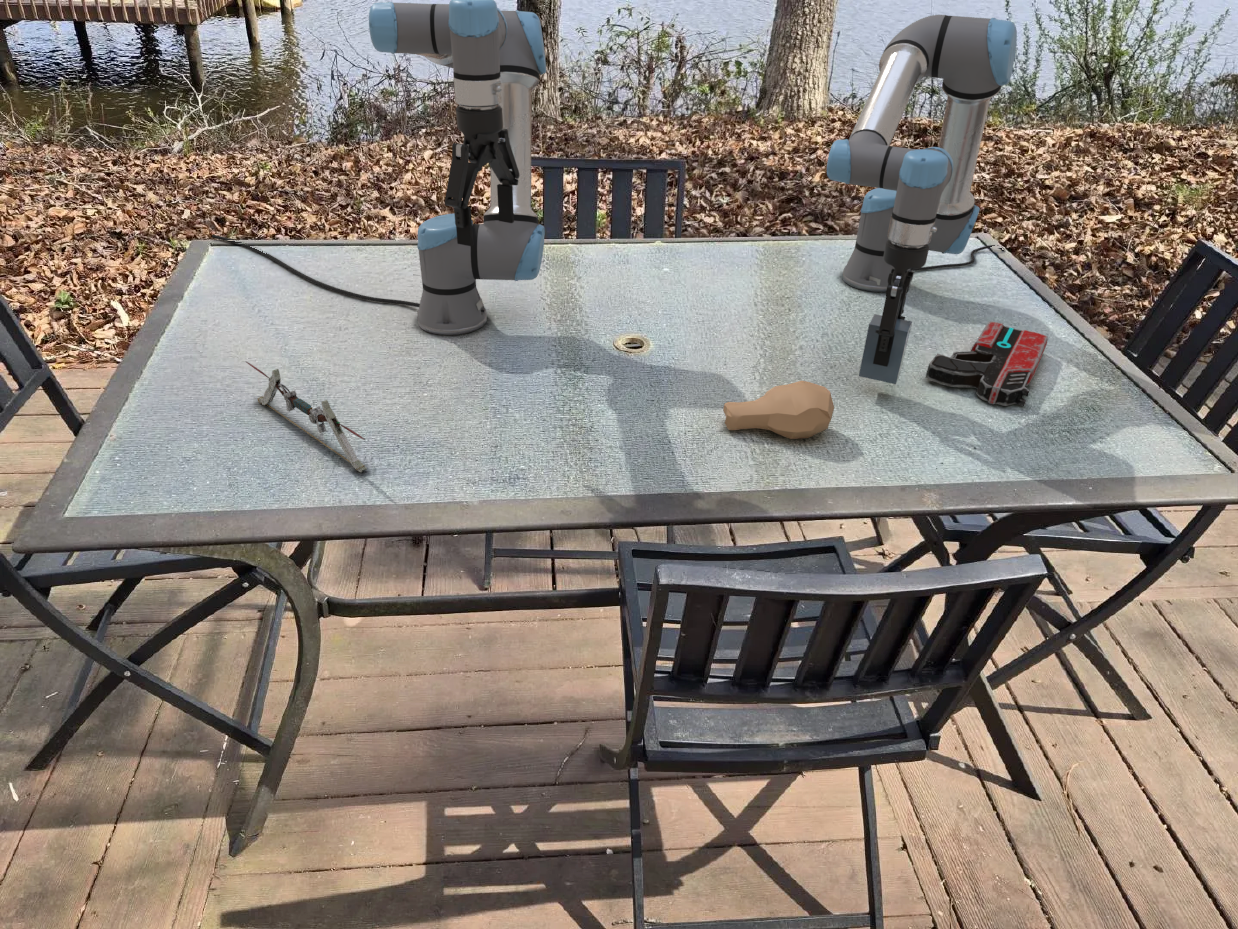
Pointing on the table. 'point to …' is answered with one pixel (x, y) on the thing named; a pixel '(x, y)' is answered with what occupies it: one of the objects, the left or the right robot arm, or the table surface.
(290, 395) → the bow
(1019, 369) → the gun
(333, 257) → the table surface
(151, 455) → the table surface
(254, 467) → the table surface
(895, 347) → the brick
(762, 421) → the squash
